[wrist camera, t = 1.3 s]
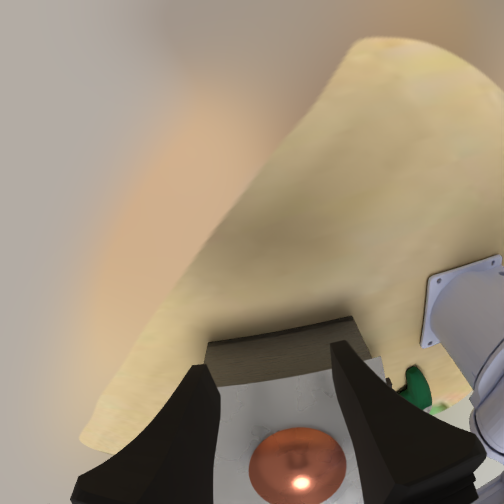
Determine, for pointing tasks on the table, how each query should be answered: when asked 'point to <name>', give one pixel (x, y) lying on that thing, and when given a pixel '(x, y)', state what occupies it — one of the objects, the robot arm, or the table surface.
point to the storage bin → (281, 353)
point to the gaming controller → (417, 390)
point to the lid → (286, 443)
